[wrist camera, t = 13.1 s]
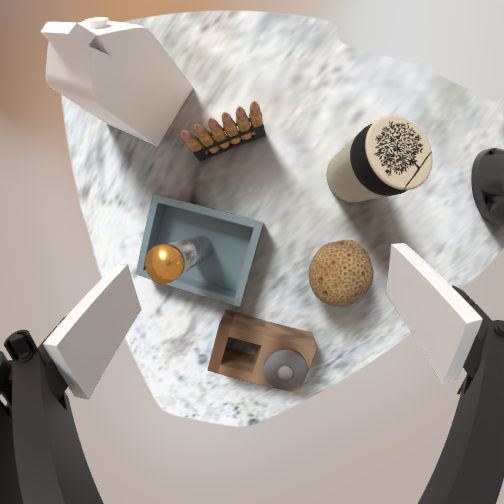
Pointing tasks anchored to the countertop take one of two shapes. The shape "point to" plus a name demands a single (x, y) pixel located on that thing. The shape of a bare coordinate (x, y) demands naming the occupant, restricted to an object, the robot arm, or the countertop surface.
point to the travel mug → (381, 161)
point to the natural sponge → (340, 273)
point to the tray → (223, 246)
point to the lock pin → (176, 258)
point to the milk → (116, 75)
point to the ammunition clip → (210, 147)
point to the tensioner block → (263, 352)
